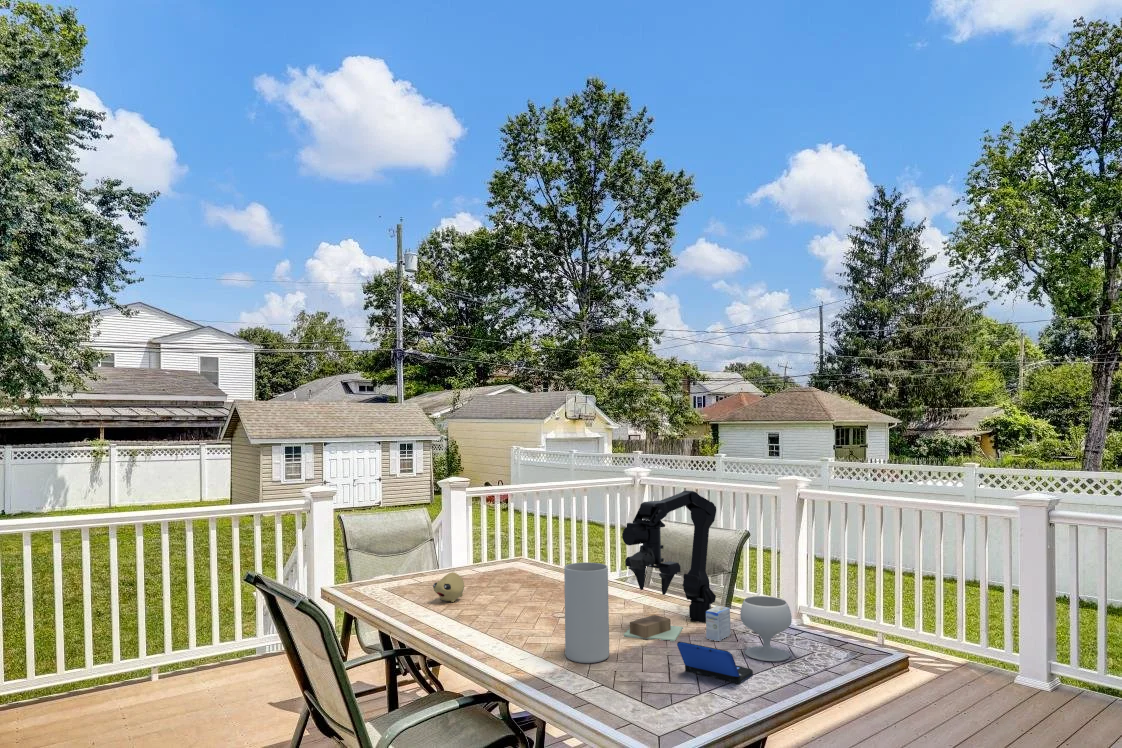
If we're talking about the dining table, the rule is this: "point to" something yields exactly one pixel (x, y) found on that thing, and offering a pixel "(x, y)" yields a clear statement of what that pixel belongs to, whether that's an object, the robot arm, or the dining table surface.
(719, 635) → the medicine box
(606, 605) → the cylinder vase
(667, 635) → the mat
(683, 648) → the handheld game console
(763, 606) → the chalice
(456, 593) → the olive toy creature
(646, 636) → the walnut slab
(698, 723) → the dining table surface
